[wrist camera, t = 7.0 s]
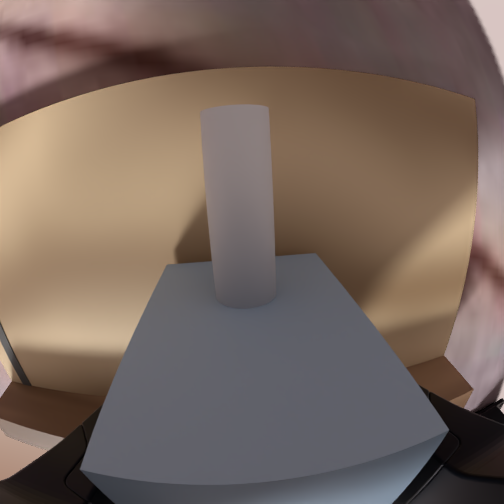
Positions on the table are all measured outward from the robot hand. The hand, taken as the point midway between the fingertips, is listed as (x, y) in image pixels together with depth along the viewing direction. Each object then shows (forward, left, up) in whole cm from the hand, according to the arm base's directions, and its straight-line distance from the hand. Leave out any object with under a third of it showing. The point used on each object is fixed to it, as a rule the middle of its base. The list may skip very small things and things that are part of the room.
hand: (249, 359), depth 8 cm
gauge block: (+2, 0, -1) cm, 2 cm away
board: (+2, +1, -3) cm, 4 cm away
